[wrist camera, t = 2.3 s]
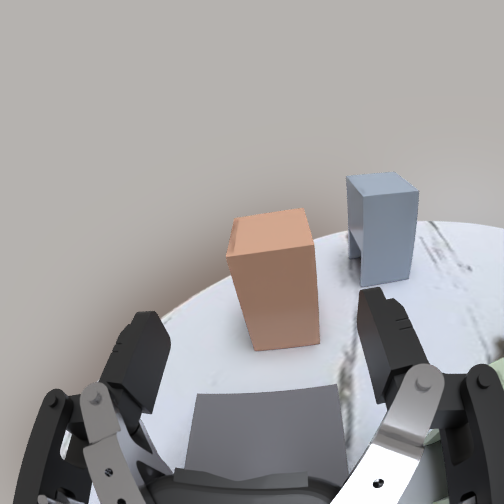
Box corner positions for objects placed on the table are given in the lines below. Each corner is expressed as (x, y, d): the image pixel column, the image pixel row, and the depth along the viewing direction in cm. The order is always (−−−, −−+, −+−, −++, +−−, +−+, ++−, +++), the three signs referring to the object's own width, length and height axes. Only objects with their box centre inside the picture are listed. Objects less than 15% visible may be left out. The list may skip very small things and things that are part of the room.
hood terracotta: (312, 299, 30) (303, 207, 24) (319, 343, 24) (314, 244, 19) (256, 306, 30) (234, 218, 25) (254, 351, 25) (225, 257, 19)
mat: (336, 386, 20) (336, 384, 20) (350, 519, 10) (351, 520, 10) (198, 395, 22) (197, 393, 22) (179, 518, 12) (177, 518, 12)
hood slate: (391, 250, 34) (394, 171, 28) (408, 278, 29) (419, 190, 23) (348, 256, 35) (345, 176, 29) (360, 287, 29) (363, 196, 24)
